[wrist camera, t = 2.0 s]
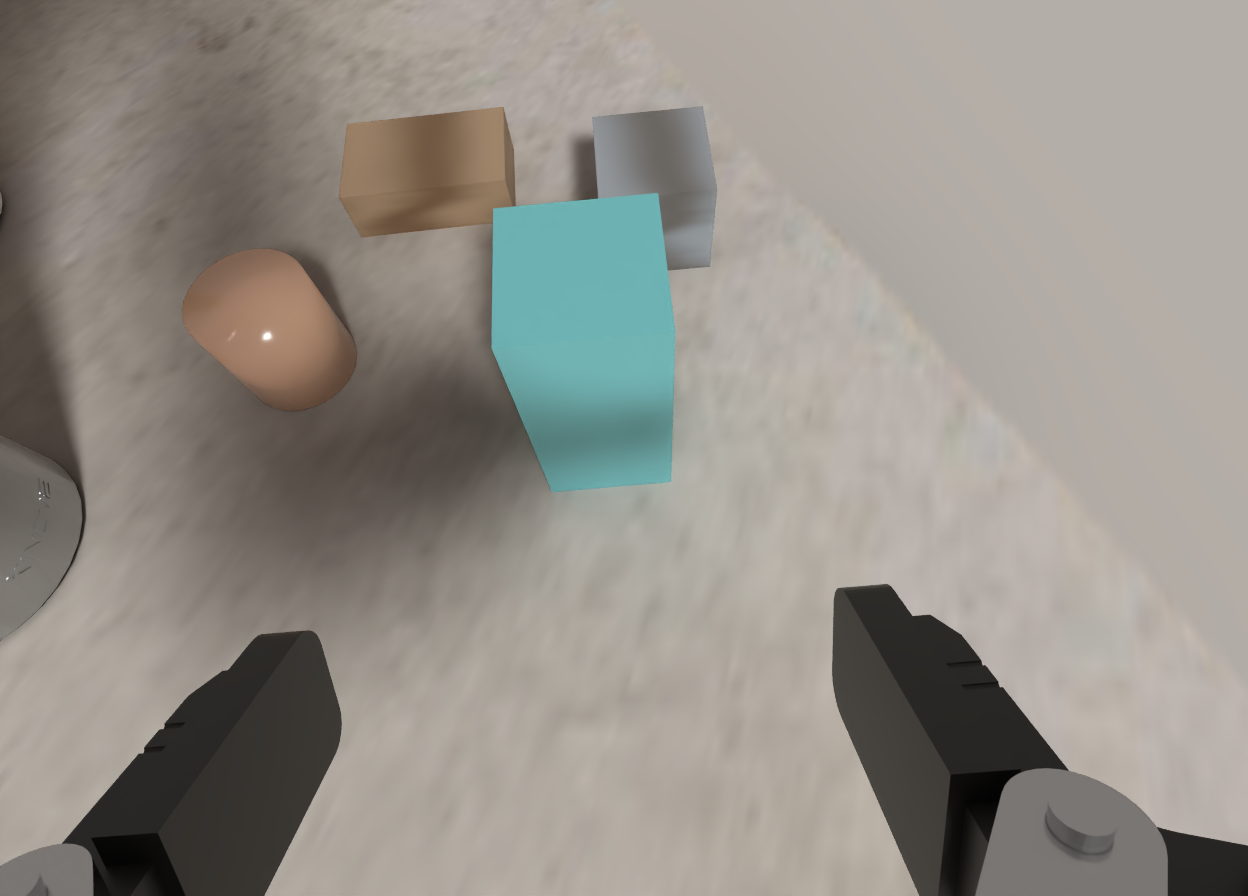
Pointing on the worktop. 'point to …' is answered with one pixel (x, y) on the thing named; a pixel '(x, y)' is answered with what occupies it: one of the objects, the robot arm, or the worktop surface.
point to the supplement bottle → (0, 203)
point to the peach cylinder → (270, 328)
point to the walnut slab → (427, 171)
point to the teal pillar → (587, 337)
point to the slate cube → (663, 174)
